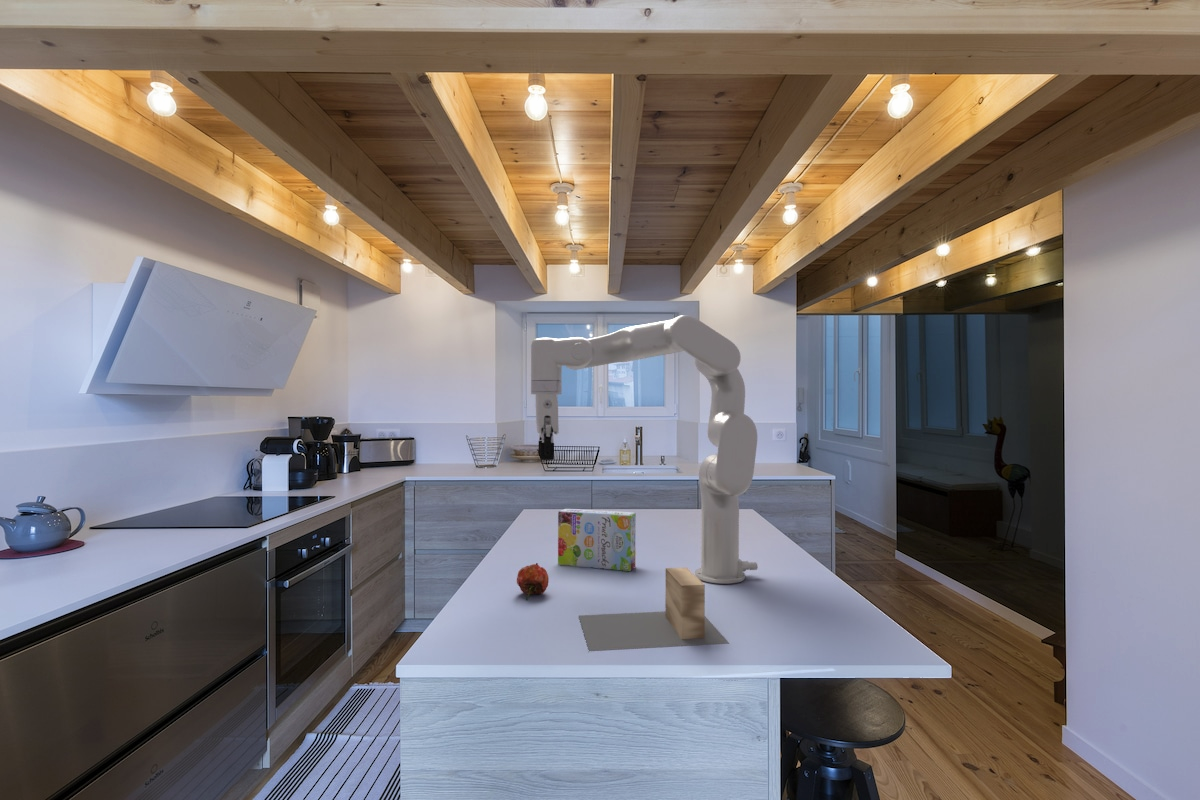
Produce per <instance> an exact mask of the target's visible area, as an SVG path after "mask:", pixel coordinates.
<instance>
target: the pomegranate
mask: <svg viewBox="0 0 1200 800" xmlns="http://www.w3.org/2000/svg"><path fill="white" fill-rule="evenodd" d="M516 584H517V586H518V587H519V588H520V591H521V592H522V593H523V594H526V595H527V596H526V601H528V599H529V597H530V595H541V594H543V593H545V591H546V590H547V588H548V586H549V573H548V571H547V570H546V568H544V567H543V566H540V565H539V563H537V562H536V563H534V564H530V565H526V566H523V567H521V569H519V571H518V573H517V576H516Z"/></svg>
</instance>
